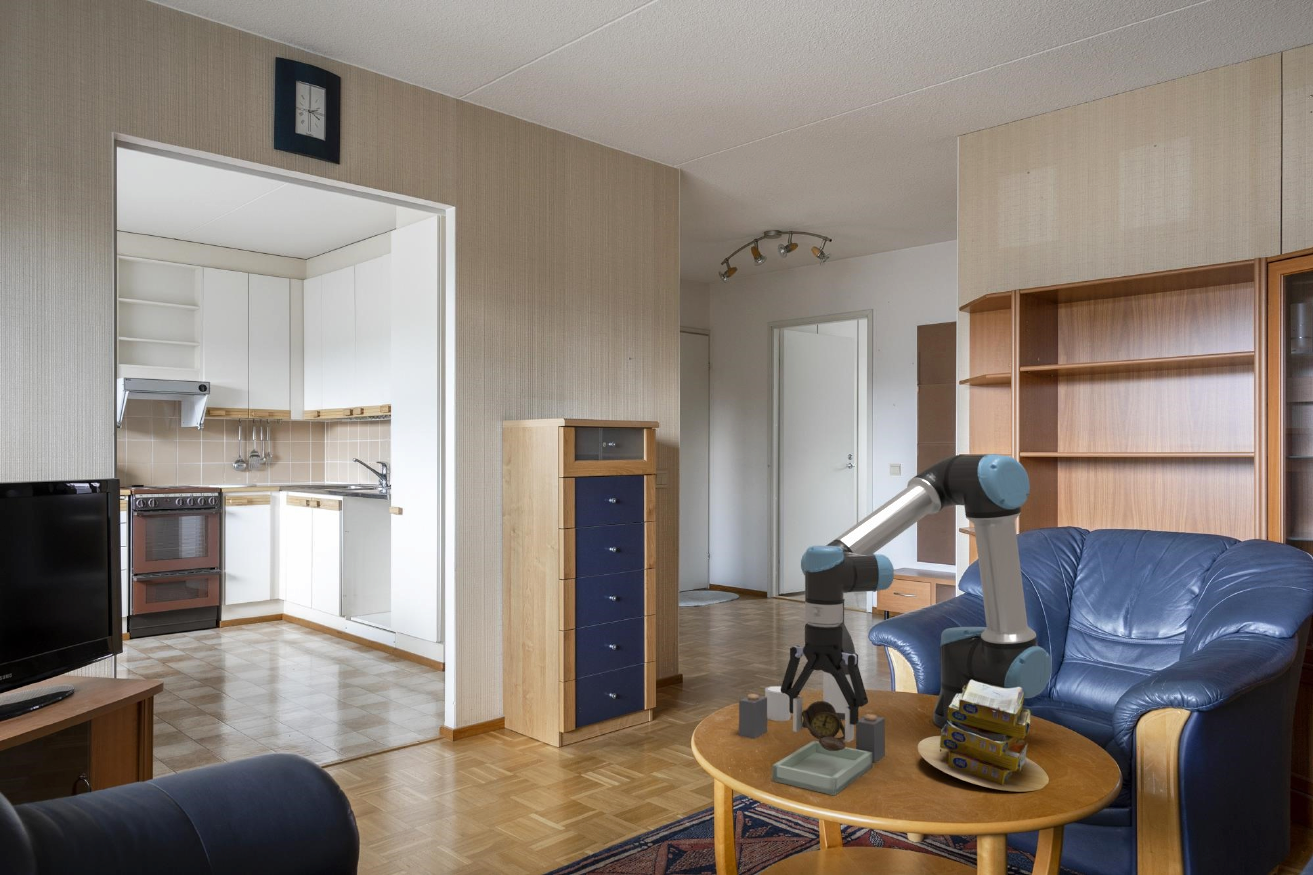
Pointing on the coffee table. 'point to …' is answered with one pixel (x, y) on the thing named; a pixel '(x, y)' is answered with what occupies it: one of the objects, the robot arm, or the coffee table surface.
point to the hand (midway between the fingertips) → (823, 735)
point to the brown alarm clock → (824, 725)
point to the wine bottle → (830, 685)
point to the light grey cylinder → (777, 704)
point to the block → (871, 736)
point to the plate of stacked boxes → (986, 740)
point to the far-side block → (752, 716)
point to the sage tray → (822, 768)
